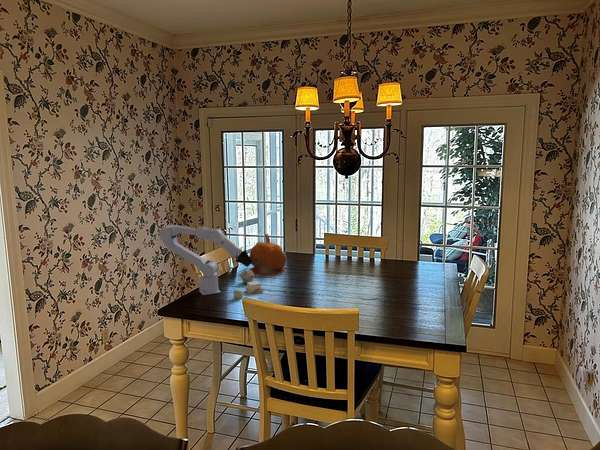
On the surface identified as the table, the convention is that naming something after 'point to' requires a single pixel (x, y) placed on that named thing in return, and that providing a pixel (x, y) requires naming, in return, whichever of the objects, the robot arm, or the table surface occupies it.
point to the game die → (247, 276)
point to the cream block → (253, 285)
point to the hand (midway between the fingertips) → (250, 264)
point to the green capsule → (238, 294)
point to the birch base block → (254, 290)
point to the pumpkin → (267, 258)
